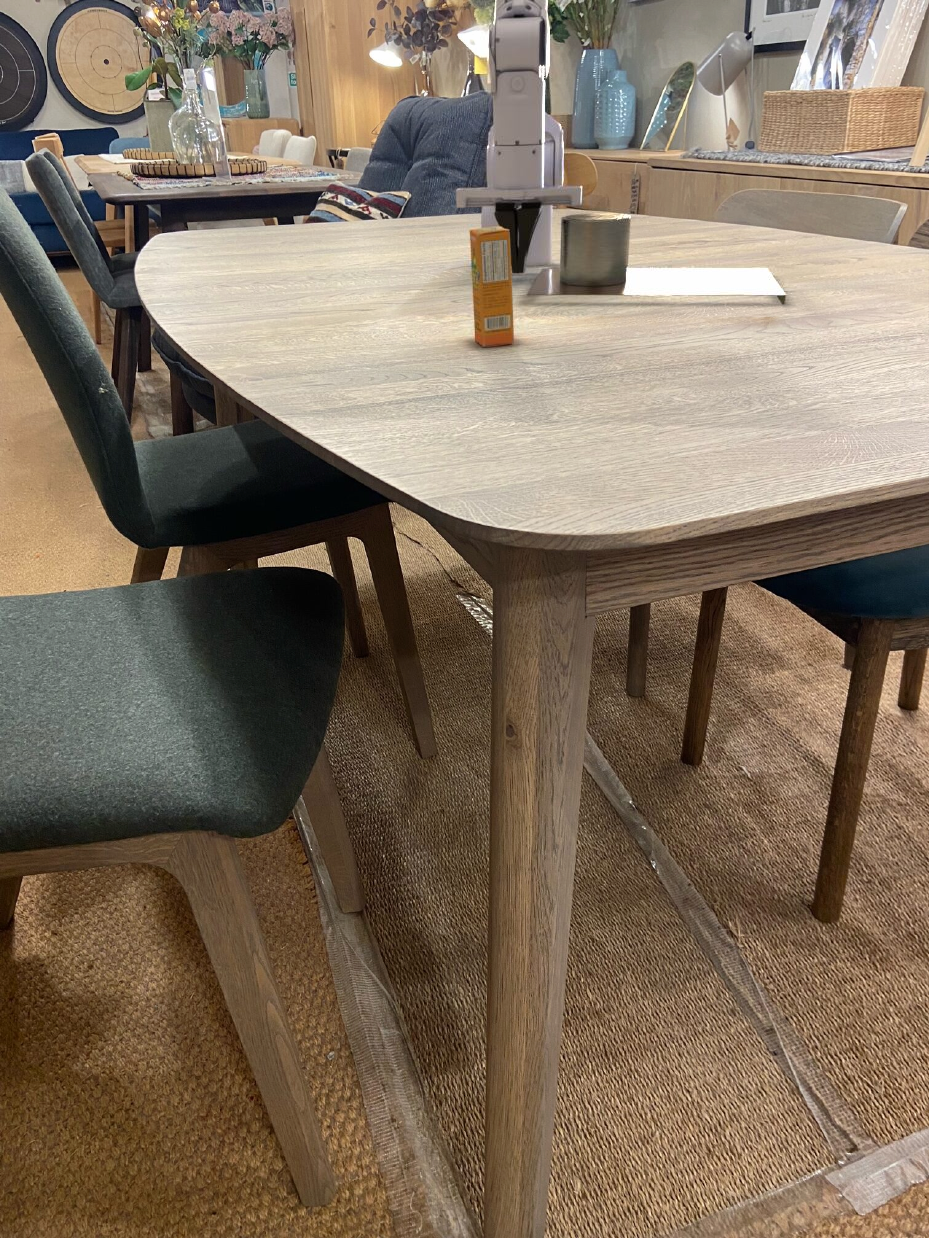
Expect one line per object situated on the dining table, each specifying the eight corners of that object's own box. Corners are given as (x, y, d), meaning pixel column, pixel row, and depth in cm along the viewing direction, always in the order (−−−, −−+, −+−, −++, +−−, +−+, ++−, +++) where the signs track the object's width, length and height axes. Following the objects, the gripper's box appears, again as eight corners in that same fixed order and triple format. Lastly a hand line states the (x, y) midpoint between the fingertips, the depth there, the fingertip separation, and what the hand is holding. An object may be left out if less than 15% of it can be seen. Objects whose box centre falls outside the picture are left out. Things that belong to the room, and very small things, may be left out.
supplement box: (470, 340, 85) (467, 227, 80) (505, 337, 86) (504, 225, 81) (479, 348, 82) (477, 231, 77) (515, 344, 83) (514, 229, 78)
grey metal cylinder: (556, 286, 103) (558, 221, 100) (562, 275, 110) (564, 213, 107) (626, 286, 102) (630, 220, 98) (627, 275, 109) (631, 212, 105)
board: (526, 303, 100) (526, 294, 100) (542, 277, 115) (542, 268, 115) (784, 304, 95) (786, 294, 95) (765, 276, 111) (766, 268, 110)
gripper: (449, 148, 98) (453, 277, 105) (580, 144, 96) (576, 277, 102) (460, 145, 104) (464, 268, 111) (584, 142, 102) (580, 267, 108)
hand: (518, 272), depth 107 cm, fingers closed
